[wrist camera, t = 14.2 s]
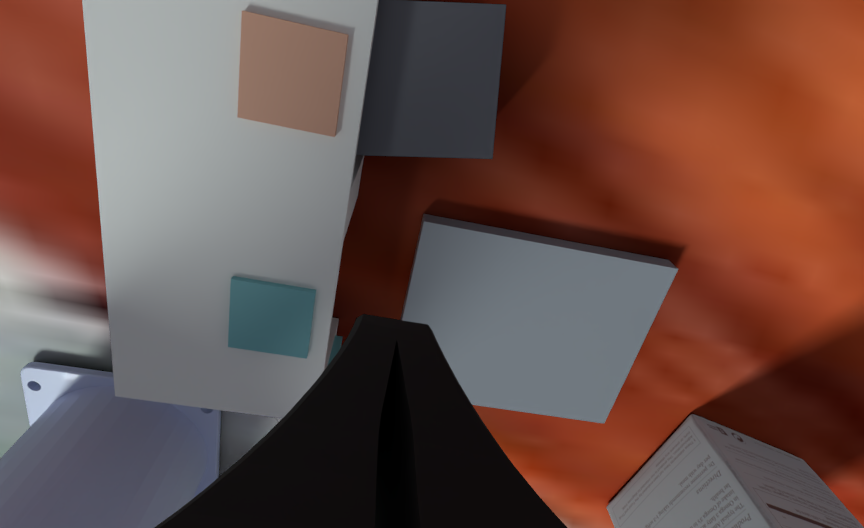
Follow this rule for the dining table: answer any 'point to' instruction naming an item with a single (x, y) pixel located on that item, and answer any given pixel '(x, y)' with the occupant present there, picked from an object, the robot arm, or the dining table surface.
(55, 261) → the dining table surface
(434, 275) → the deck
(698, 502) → the supplement box
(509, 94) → the dining table surface
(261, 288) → the socket bar
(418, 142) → the plug
